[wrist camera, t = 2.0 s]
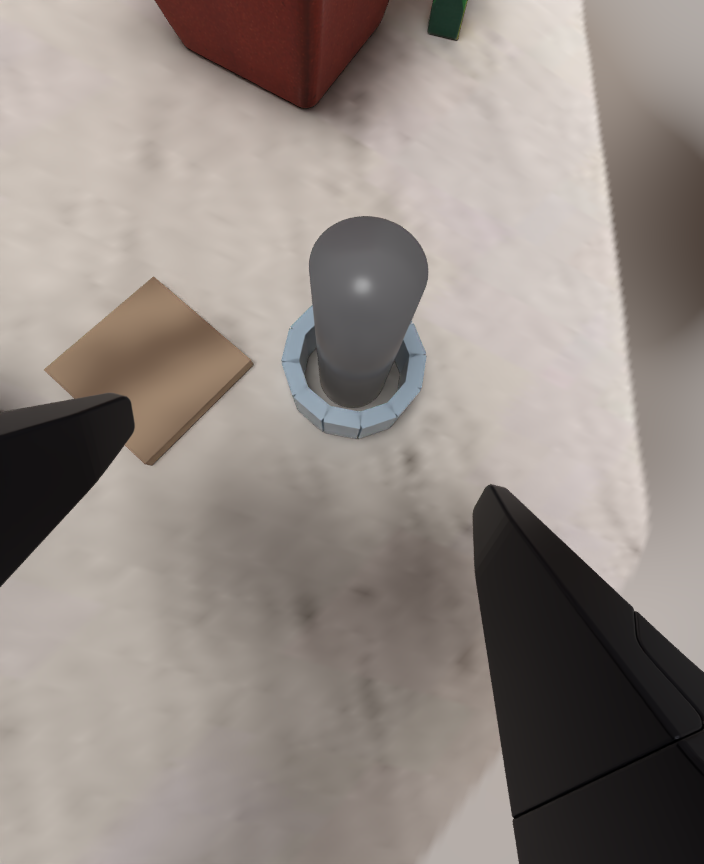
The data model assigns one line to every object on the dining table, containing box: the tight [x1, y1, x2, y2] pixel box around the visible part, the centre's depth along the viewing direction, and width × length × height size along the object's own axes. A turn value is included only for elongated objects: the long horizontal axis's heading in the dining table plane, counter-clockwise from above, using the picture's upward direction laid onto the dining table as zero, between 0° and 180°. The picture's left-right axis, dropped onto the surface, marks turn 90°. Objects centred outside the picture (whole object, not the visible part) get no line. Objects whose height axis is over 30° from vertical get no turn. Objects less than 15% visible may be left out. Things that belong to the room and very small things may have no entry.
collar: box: [281, 305, 426, 439], centre depth 22 cm, size 8×8×3 cm
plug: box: [309, 216, 428, 408], centre depth 18 cm, size 4×4×11 cm
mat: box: [44, 277, 253, 465], centre depth 22 cm, size 9×9×1 cm
